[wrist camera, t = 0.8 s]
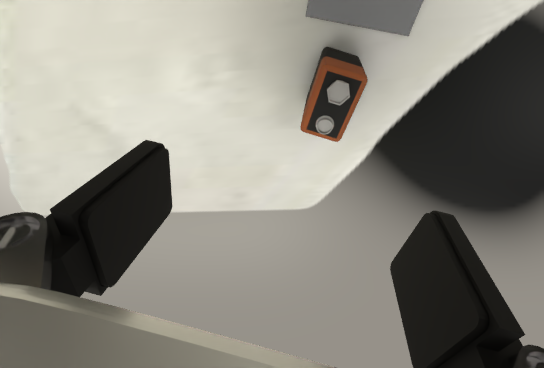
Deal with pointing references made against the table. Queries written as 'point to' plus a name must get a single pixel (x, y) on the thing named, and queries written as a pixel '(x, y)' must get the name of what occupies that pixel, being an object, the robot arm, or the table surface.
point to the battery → (333, 94)
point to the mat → (368, 13)
